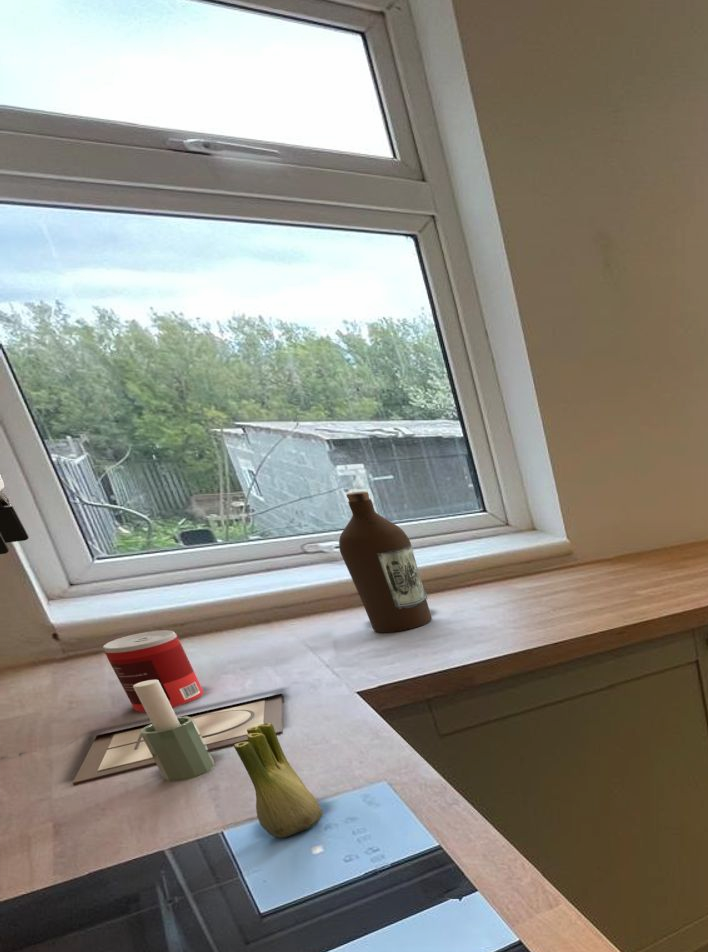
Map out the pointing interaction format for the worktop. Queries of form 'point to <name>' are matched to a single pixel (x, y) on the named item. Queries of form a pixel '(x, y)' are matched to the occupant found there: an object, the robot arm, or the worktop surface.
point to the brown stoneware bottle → (383, 568)
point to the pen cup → (179, 750)
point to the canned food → (153, 666)
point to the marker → (156, 705)
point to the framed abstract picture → (214, 726)
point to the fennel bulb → (276, 785)
